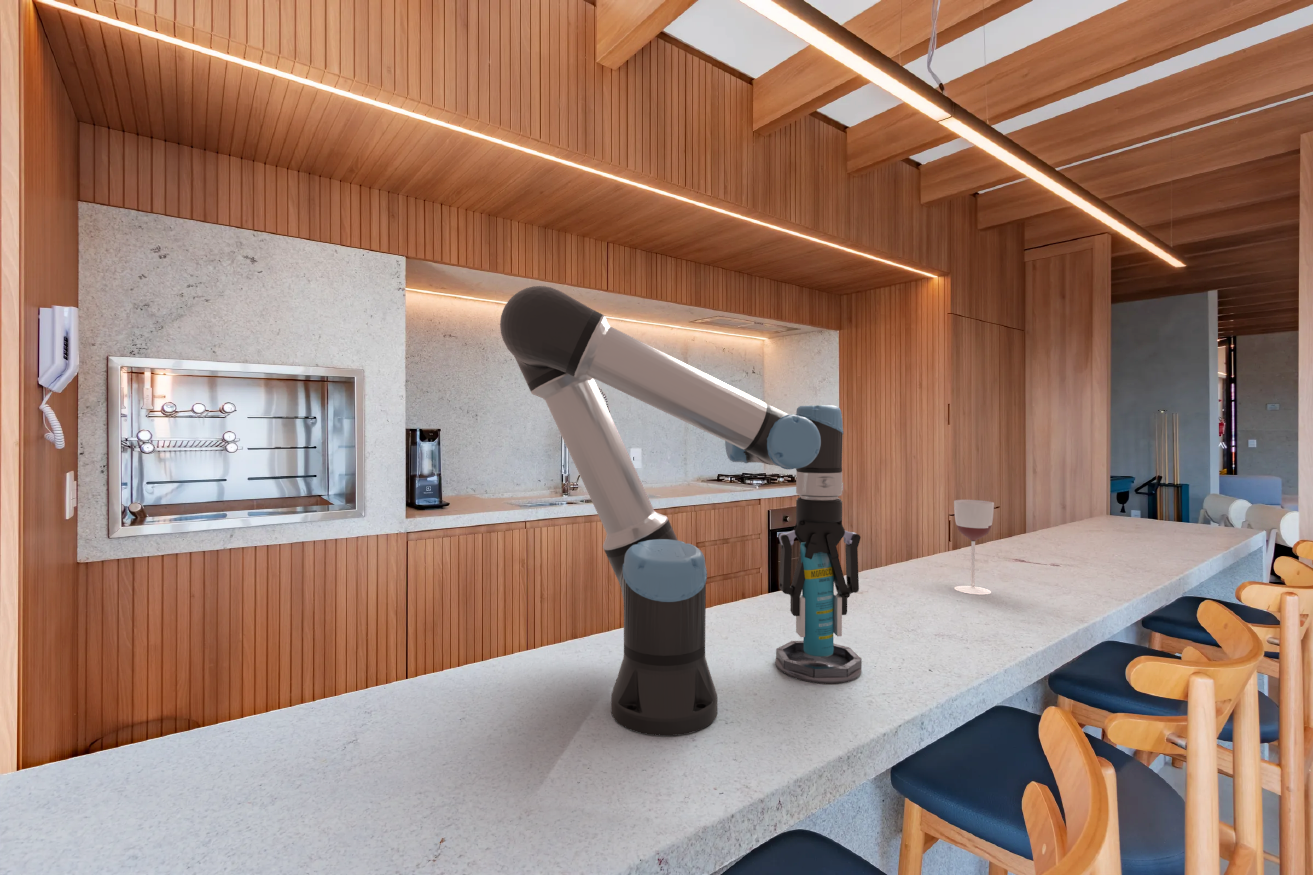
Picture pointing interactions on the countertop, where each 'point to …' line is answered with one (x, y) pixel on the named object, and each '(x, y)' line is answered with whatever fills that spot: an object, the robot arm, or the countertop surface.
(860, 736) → the countertop surface
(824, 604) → the tube
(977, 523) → the wineglass
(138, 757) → the countertop surface
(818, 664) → the octagonal bowl
